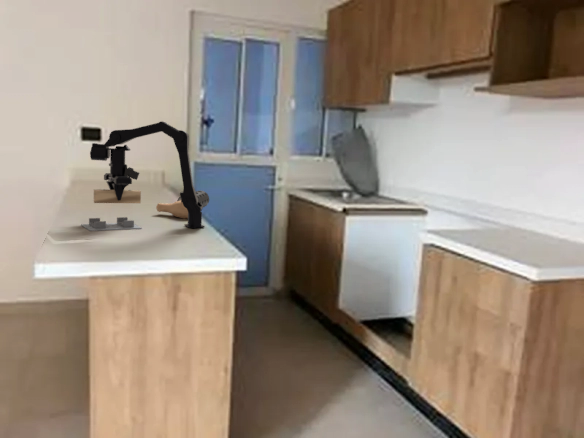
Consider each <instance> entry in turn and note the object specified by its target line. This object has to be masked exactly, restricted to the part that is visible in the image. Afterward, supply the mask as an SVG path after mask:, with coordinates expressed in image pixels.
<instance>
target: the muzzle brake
mask: <svg viewBox="0 0 584 438" xmlns="http://www.w3.org/2000/svg"><path fill="white" fill-rule="evenodd" d="M195 191H196V190H195ZM196 194H197V197H198V202H199V203H200V204H201V205H202V206H203V208H205V207H207V206H208V205H209V202H210V196H209V194H208V193H207V192H205V190H197V191H196ZM177 201H181V196H180V195H179V197H178V198H177ZM177 201H176V202H177Z"/></svg>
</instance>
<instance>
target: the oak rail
mask: <svg viewBox="0 0 584 438" xmlns="http://www.w3.org/2000/svg"><path fill="white" fill-rule="evenodd" d="M141 194H142V191H141V190H140V189H124V191H123V194H122V197H121V200H117V197H116V194H115V191H114V190H110V189H105V188H104V189H101V188H100V189H93V203H94V204H141V202H142V200H141V198H142V197H141V196H142V195H141Z"/></svg>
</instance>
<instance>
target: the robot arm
mask: <svg viewBox="0 0 584 438" xmlns="http://www.w3.org/2000/svg"><path fill="white" fill-rule="evenodd" d="M158 133H164V134H165V135H167V137H169V138H172V140H173V143H174V146H175V148H176V151H177V153H178V158H179V166H180V171H181V173H180V174H181V178H182V179H181V180H182V186H183V190H182V191H181V192H179V197H180V196H181V203H182V202H183V205H184V207H185V208H187V210H188V218H187V223H185V224H184V226H185V227H187V228H190V229H196V228H198V229H200V228H205V225H202V222H203V221H202V219H203V212H202V210H203V208H204V207H203V206H202V205H201V204H200V203H199V202H198V197H197V194H196V189H195V187H194V183H193V177H192V168H191V161H190V155H189V150H190V135H189V133H188V132H187V131H185V130H182V129H181V130H179V129H177V128H176V127H173V125H170V124H169V123H167V121H163V120H161V121H158V122H156V123H153V124H147V125H144V126H141V127H140V126H139V127H136V128H132V129H115V130H111V132H110V133H109V136H108V139H107V140H106V142H105V143H96V142H94V143H93V142H92V143H91V148H90V151H89V156H90V160H91V161H102V162H103V161H105V162H106V161H107V160H108V159H110V160H109V162H110V163H108V166H109V167H110V169H109V172H108V173H104V175H103V180H104V181H105V182H106V183H107V186H108V189H109V190H114V191H115V194H116V197H117V200H121V197H122V194H123V191H124V190H125V188H126V187H127V186H129V185H132V184H133V180H136V181H137V180H138V178H139V176H140V172H138V171H136V170H135V169H134V168H132V167H131V166H129V167H128V165H127V164H126V151H127V152H128V151H131V148H130V147H129V146H128V145H127V144H126V143H128V142H131V141H132V140H135V139H137V138H141V137H145V136H149V135H153V134H158ZM123 144H124V145H123ZM121 145H123V146H121ZM112 147H115V148H112Z"/></svg>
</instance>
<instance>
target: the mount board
mask: <svg viewBox="0 0 584 438" xmlns="http://www.w3.org/2000/svg"><path fill="white" fill-rule="evenodd" d="M80 226H81V227H83V228H85V230H87V231H89V232H96V231H97V232H99V231H121V230H122V231H123V230H141V229H143V228H142V227H141V226H139V225H137V224H135V220H133V219H132V220H131V219H130V220H129V219H128V217H127V216H126V217H125V216H124V217H116V222H111V223H108V222H106V221H105V220H104V221H103V220H102V221H101V217H95V218H94V217H91V218H89V217H88V223H84V224H83V223H81V224H80Z"/></svg>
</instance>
